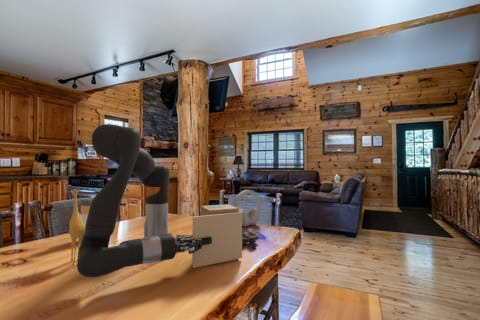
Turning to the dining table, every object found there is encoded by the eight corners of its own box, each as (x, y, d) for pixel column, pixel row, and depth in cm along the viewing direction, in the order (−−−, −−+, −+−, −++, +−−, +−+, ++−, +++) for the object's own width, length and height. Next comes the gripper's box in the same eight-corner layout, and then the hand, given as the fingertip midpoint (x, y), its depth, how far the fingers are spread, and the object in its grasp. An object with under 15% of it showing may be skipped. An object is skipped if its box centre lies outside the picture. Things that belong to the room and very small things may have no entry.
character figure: (76, 239, 115) (77, 199, 115) (102, 236, 120) (103, 198, 120) (74, 244, 108) (75, 201, 108) (102, 241, 113) (103, 199, 113)
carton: (208, 264, 87) (209, 210, 87) (200, 255, 96) (201, 205, 96) (238, 259, 91) (238, 207, 92) (227, 251, 100) (228, 204, 101)
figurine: (235, 220, 132) (268, 233, 106) (235, 231, 132) (268, 247, 106) (212, 223, 126) (241, 237, 100) (212, 234, 126) (241, 252, 100)
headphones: (238, 230, 133) (238, 191, 134) (229, 227, 140) (229, 190, 140) (265, 225, 145) (265, 189, 145) (255, 222, 151) (255, 188, 152)
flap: (240, 256, 91) (240, 211, 92) (241, 257, 90) (242, 212, 91) (192, 266, 82) (192, 216, 83) (193, 267, 81) (193, 217, 82)
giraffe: (65, 254, 95) (67, 187, 95) (79, 252, 98) (80, 186, 98) (70, 269, 82) (72, 191, 83) (86, 265, 85) (88, 190, 85)
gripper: (163, 241, 70) (219, 232, 79) (151, 230, 82) (202, 223, 91) (163, 269, 70) (219, 257, 79) (151, 254, 81) (202, 245, 91)
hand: (210, 239), depth 85 cm, fingers closed
